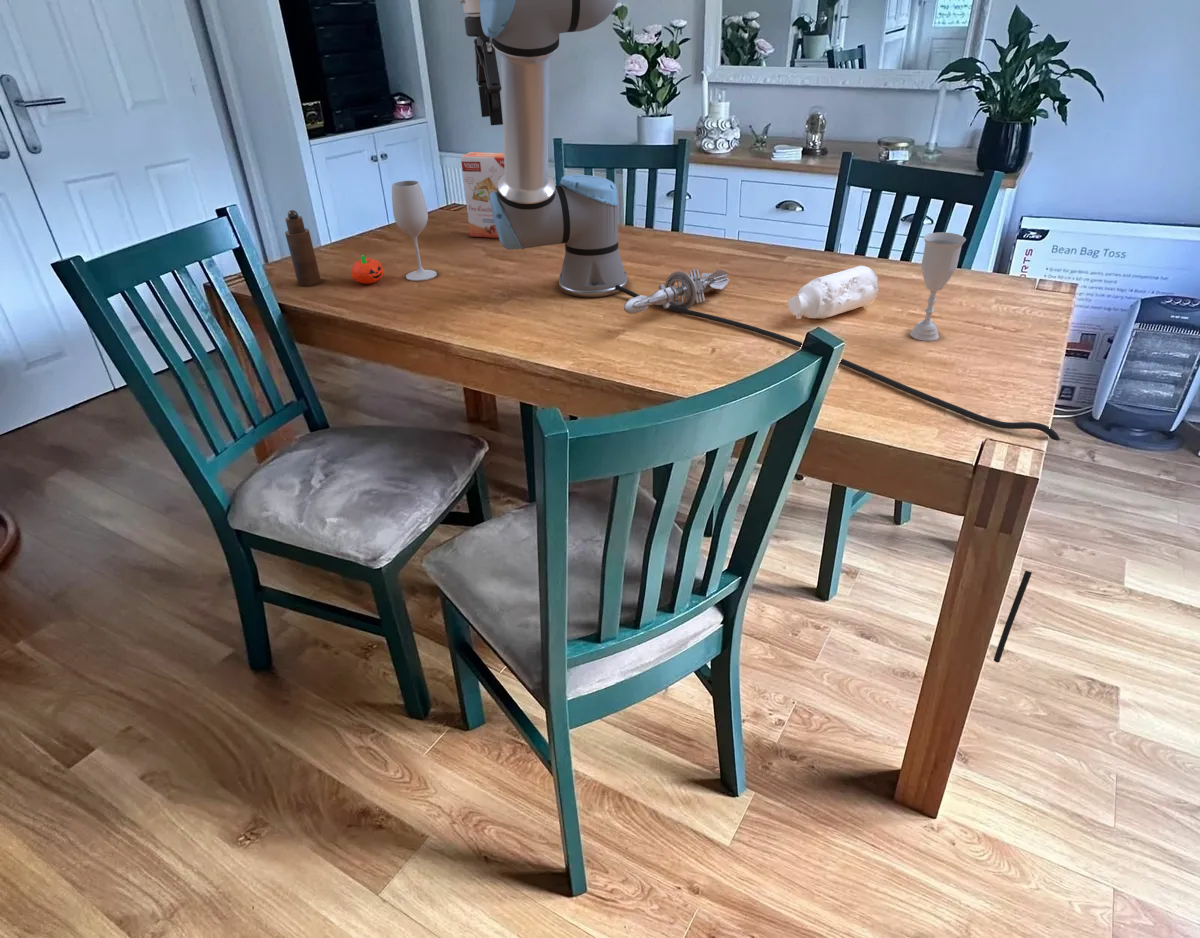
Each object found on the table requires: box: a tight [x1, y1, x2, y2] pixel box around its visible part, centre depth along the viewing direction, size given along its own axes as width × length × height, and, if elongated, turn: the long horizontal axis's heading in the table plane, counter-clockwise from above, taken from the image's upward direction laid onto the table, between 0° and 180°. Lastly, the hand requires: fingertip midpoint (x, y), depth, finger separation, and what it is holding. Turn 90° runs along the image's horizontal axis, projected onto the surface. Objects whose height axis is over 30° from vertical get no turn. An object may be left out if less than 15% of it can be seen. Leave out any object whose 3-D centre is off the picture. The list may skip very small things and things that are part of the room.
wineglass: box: [391, 180, 438, 282], centre depth 176 cm, size 8×8×21 cm
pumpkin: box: [350, 254, 385, 285], centre depth 178 cm, size 7×8×6 cm
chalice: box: [909, 231, 967, 342], centre depth 138 cm, size 7×7×18 cm
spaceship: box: [623, 268, 730, 315], centre depth 155 cm, size 8×35×8 cm
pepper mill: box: [284, 209, 322, 287], centre depth 176 cm, size 5×5×17 cm
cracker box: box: [460, 151, 505, 239], centre depth 202 cm, size 14×6×21 cm, turn 73°
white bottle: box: [787, 265, 880, 320], centre depth 150 cm, size 8×19×8 cm, turn 121°
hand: (492, 120), depth 179 cm, fingers open, 13 cm apart
